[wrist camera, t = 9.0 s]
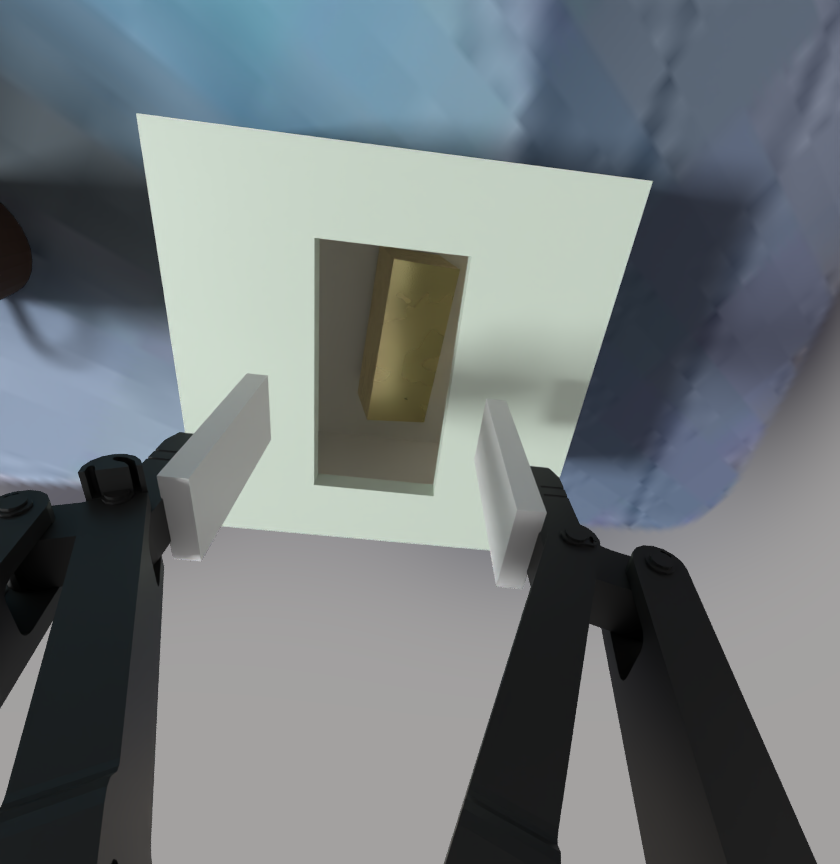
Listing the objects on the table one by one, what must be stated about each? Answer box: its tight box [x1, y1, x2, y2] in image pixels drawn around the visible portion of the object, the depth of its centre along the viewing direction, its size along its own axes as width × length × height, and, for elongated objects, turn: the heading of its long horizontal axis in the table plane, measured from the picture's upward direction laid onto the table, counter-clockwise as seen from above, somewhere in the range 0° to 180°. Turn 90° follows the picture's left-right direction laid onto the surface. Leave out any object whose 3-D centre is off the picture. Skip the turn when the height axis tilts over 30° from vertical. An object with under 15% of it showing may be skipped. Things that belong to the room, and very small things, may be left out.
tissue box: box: [136, 113, 653, 550], centre depth 25 cm, size 18×18×10 cm
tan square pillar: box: [358, 246, 460, 422], centre depth 27 cm, size 4×9×4 cm, turn 169°
